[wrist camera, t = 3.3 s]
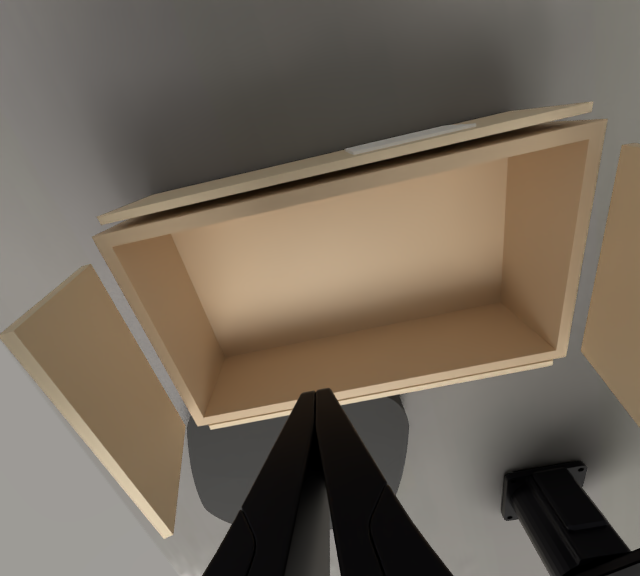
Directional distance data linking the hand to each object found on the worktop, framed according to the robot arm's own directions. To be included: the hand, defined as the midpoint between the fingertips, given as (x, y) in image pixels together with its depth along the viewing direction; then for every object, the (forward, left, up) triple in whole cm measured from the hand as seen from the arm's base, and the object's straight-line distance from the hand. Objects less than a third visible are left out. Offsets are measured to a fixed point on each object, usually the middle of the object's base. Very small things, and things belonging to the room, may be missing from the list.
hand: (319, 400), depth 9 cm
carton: (0, -2, -10) cm, 10 cm away
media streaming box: (-14, +4, -10) cm, 18 cm away
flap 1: (0, +7, -4) cm, 9 cm away
